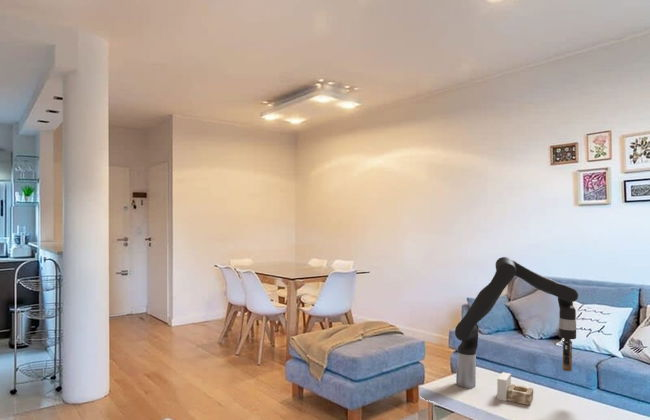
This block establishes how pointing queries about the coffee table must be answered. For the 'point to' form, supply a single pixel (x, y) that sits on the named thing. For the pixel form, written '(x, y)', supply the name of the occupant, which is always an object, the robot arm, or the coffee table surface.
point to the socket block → (520, 394)
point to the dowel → (569, 367)
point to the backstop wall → (503, 386)
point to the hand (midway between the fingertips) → (567, 363)
